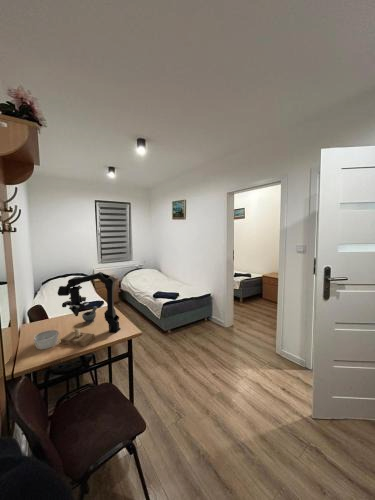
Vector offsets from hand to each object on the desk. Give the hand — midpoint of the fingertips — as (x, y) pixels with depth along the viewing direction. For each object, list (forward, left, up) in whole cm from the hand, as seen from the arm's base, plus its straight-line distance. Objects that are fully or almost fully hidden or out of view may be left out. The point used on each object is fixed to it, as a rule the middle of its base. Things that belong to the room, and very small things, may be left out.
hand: (76, 316), depth 149 cm
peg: (-8, +10, -12) cm, 18 cm away
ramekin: (+8, +18, -12) cm, 23 cm away
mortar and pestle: (+2, -16, -12) cm, 20 cm away
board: (-8, +10, -12) cm, 18 cm away
